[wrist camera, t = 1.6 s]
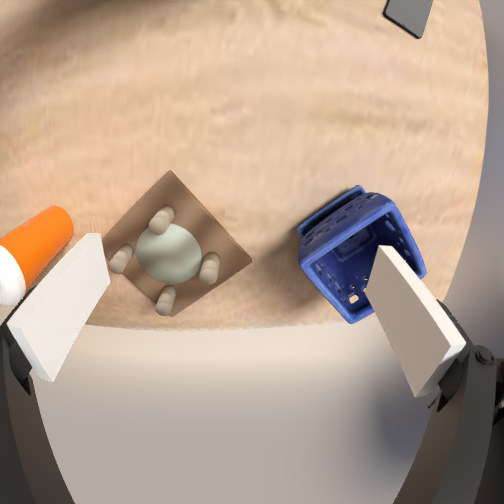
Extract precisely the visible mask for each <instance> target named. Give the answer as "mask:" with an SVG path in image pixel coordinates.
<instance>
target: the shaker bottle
mask: <svg viewBox="0 0 504 504" xmlns="http://www.w3.org/2000/svg"><path fill="white" fill-rule="evenodd" d="M72 235H73V224H72V221H71V219H70V217H69V215H68V214H67V213H66V211H64V210H63V209H62V208H60V207H57V206H53V207H50V208H48V209H46V210H44V211H43V212H41V213H39V214H38V215H36V216H34V217H33V218H31V219H30V220H28V221H26V222H25V223H23V224H22V225H20V226H19V227H17V228H15V229H14V230H13V231H11V232H9V233H8V234H6V235H5V236H4V237H2V238H1V239H0V306H1V305H4V306H15V305H17V304H18V303H19V301H20V300H21V299H22V298H23V297H24V295H25V293H26V290H27V289H28V288H29V287H30V285H31V284H32V283H33V282H34V280H35V279H36V278H37V277H38V276H39V274H40V273H41V272H42V271H43V270H44V268H45V267H46V266H47V265H48V264H49V263H50V261H51V260H52V259H53V258H54V257H55V256H56V255H57V254H58V252H59V251H60V250H61V249H62V248H63V247H64V246H65V245H66V244H67V243H68V242H69V240H70V239H71V237H72Z"/></svg>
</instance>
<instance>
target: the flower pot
mask: <svg viewBox="0 0 504 504" xmlns="http://www.w3.org/2000/svg"><path fill="white" fill-rule="evenodd" d="M296 231H297V233H298V234H299V236H300V237H301V238H302V241H301V243H300V246H299V252H298V261H299V265H300V267H301V269H302V270H303V272H304V273H305V274H306V276H307V277H308V278H309V280H310V281H311V282H312V283H313V284H314V285H315V287H316V288H317V289H318V290H319V291H320V292H321V293H322V295H323V296H324V297H325V298H326V299H327V300H328V301H329V302H330V303H331V304H332V305H333V306H334V308H335V309H336V310H337V311H338V312H339V313H340V314H341V315H342V317H343V318H344V319H345V320H346V321H347V322H348V323H350V324H353V323H356V322H358V321H360V320H361V319H363V318H365V317H367V316H368V315H370V314H372V313H373V312H375V311H374V309H373V308H372V306H371V304H370V302H369V300H368V298H367V296H366V294H365V292H363V290H364V288H366V287H367V284H368V281H369V278H370V274H371V271H372V268H373V264H374V261H375V257H376V254H377V250H378V246H379V245H381V246H392V247H393V248H394V249H395V250H396V251H397V252H398V254H399V255H400V256H401V257H402V258H403V260H406V263H407V264H408V265H409V267H410V268H411V269H412V270H413V272H414V273H415V274H416V275H417V276H418V278H419V279H420V280H421V279H422V278H423V277H424V276H425V275H426V273H427V272H426V267H425V264H424V261H423V259H422V256H421V254H420V251H419V249H418V247H417V245H416V243H415V241H414V239H413V237H412V235H411V233H410V231H409V229H408V227H407V225H406V223H405V221H404V219H403V217H402V215H401V213H400V212H399V210H398V208H397V206H396V205H395V203H394V202H393V201H392V200H391V199H389V198H387V197H386V196H384V195H382V194H379V193H373V192H369V193H366V192H365V190H364V189H363V188H362V187H361V186H360V185H357V186H355V187H353V188H352V189H350V190H349V191H347V192H346V193H344V194H343V195H341V196H340V197H339V198H337V199H336V200H334V201H333V202H331V203H330V204H328V205H327V206H325V207H324V208H323V209H321V210H320V211H318V212H317V213H316V214H314V215H313V216H311V217H310V218H309V219H307V220H306V221H305V222H303V223H302V224H301V225H299V226H298V227H297V229H296ZM317 271H318V272H317ZM365 279H367V280H365ZM352 287H355V288H352ZM335 288H336V289H337V290H336V289H335ZM353 295H357V296H358V297H359V299H358V300H357V301H356V302H354V303H352V304H351V303H350V301H349V298H350V297H352V296H353Z"/></svg>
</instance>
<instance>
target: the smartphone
mask: <svg viewBox="0 0 504 504" xmlns="http://www.w3.org/2000/svg"><path fill="white" fill-rule="evenodd" d="M432 2H433V0H388V2H387V5H386V7H385V10H384V12H383V14H384V16H385V17H386V18H388V19H389V20H391V21H393V22H394V23H396V24H397V25H399V26H400V27H402V28H403V29H405V30H406V31H408V32H409V33H411V34H412V35H413V36H415V37H416V38H421V37H422V35H423V32H424V29H425V25H426V22H427V19H428V16H429V12H430V9H431V6H432Z"/></svg>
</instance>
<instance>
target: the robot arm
mask: <svg viewBox="0 0 504 504" xmlns="http://www.w3.org/2000/svg"><path fill="white" fill-rule="evenodd" d="M109 284H110V278H109V274H108V269H107V265H106V260H105V255H104V250H103V245H102V240H101V235H100V233H87V234H86V235H85V236H84V237H83V238H82V239H81V240H80V241H79V242H78V243H77V244H76V245H75V246H74V247H73V248H72V249H71V250H70V251H69V252H68V253H67V254H66V255H65V256H64V257H63V258H62V259H61V260H60V261H59V262H58V263H57V264H56V265H55V266H54V268H53V269H52V270H51V271H50V272H49V273H48V274H47V275H46V276H45V277H44V279H43V280H42V281H41V282H40V283H39V284H37V285H36V286H34V287H33V288H31V289H30V290H29V291H28V292H27V293H26V295H25V296H24V297H23V299H21V301H20V302H19V303H18V305H17V306H16V307H15V308H14V309H13V310H12V312H11V313H10V314H9V315H8V317H7V318H6V319H5V321H4V322H3V323H2V325H1V326H0V504H75V503H74V501H73V499H72V497H71V495H70V493H69V491H68V489H67V486H66V484H65V482H64V480H63V478H62V475H61V473H60V471H59V468H58V465H57V463H56V460H55V458H54V455H53V452H52V449H51V447H50V444H49V441H48V438H47V435H46V432H45V428H44V425H43V421H42V418H41V414H40V411H39V407H38V403H37V399H36V394H35V390H34V385H33V380H32V378H31V376H30V374H29V372H30V370H31V369H32V368H33V369H34V371H35V373H36V374H37V376H38V377H39V378H42V379H44V380H47V381H51V382H54V380H55V378H56V375H57V374H58V372H59V370H60V368H61V366H62V364H63V362H64V360H65V358H66V356H67V354H68V353H69V351H70V349H71V347H72V345H73V343H74V342H75V340H76V338H77V336H78V335H79V333H80V331H81V329H82V328H83V326H84V324H85V322H86V321H87V319H88V317H89V316H90V314H91V312H92V311H93V309H94V307H95V306H96V304H97V303H98V301H99V299H100V298H101V296H102V295H103V293H104V291H105V290H106V288H107V287H108V285H109ZM365 294H366V296H367V298H368V300H369V302H370V304H371V306H372V308H373V309H374V311H375V313H376V315H377V317H378V319H379V321H380V323H381V325H382V327H383V329H384V331H385V333H386V335H387V337H388V339H389V341H390V343H391V345H392V348H393V350H394V352H395V354H396V356H397V358H398V360H399V362H400V365H401V367H402V369H403V371H404V374H405V376H406V378H407V380H408V383H409V385H410V387H411V390H412V392H413V394H414V397H419V396H423V395H428V394H430V393H431V392H432V391H433V390H434V388H435V387H436V386H437V384H438V385H439V387H440V389H441V391H440V392H439V393H438V394H437V396H436V397H435V398H434V399H433V400H432V401H431V403H430V404H429V405H428V408H430V407H431V406H432V405H433V404H434V408H433V411H432V414H431V417H430V420H429V423H428V426H427V429H426V431H425V434H424V437H423V440H422V442H421V445H420V448H419V450H418V452H417V455H416V457H415V460H414V462H413V464H412V466H411V469H410V471H409V473H408V475H407V477H406V479H405V482H404V484H403V486H402V488H401V490H400V492H399V493H398V495H397V497H396V499H395V501H394V503H393V504H504V407H503V408H502V405H501V402H502V401H503V400H504V359H500V358H495V357H494V355H493V354H492V352H491V351H490V350H489V349H487V348H485V347H484V346H480V345H476V346H474V345H473V343H472V342H471V340H470V339H469V337H468V336H467V334H466V333H465V332H464V330H463V329H462V327H461V326H460V325H459V323H457V320H456V319H455V318H454V316H452V314H451V312H450V311H449V310H448V308H447V307H446V306H445V305H444V304H443V303H441V302H440V301H439V300H438V299H435V298H434V297H433V295H432V294H431V293H430V292H429V290H428V289H427V288H426V286H425V285H424V284H423V283H422V281H421V280H420V279H419V278H418V276H417V275H416V274H415V273H414V272H413V270H412V269H411V268H410V267H409V265H408V264H407V263H406V262H405V261H404V260H403V258H402V257H401V256H400V255H399V254H398V252H397V251H396V250H395V249H394V248H393V247H392V246H381V245H379V246H378V250H377V254H376V257H375V261H374V264H373V268H372V271H371V274H370V278H369V281H368V284H367V287H366V290H365Z"/></svg>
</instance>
